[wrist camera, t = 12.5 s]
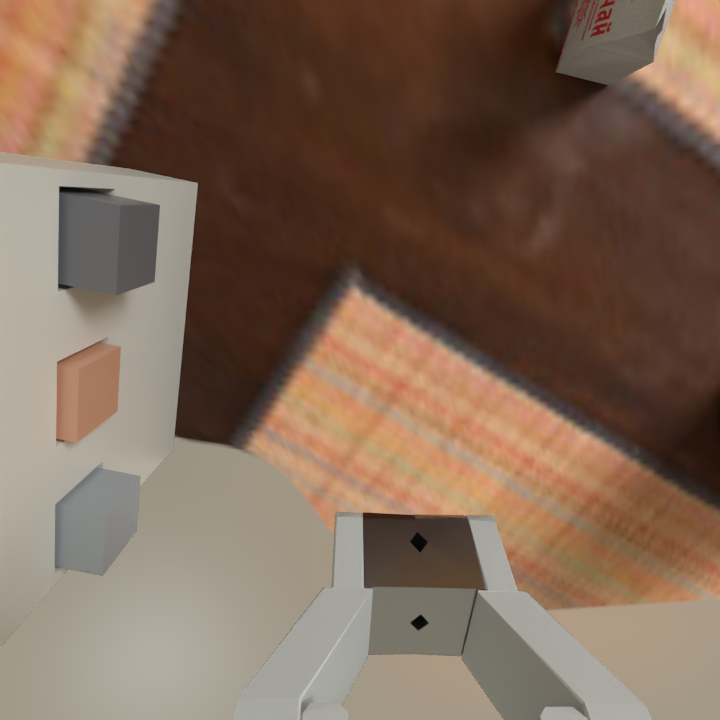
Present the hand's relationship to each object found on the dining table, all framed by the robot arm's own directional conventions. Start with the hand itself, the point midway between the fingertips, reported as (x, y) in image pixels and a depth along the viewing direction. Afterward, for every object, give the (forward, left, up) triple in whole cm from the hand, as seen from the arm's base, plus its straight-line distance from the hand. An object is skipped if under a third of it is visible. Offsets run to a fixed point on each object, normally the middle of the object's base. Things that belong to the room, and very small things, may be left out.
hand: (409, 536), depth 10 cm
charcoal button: (+15, -2, -18) cm, 23 cm away
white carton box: (-10, -20, -30) cm, 37 cm away
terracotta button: (+17, +6, -18) cm, 25 cm away
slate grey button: (+15, +14, -18) cm, 27 cm away
